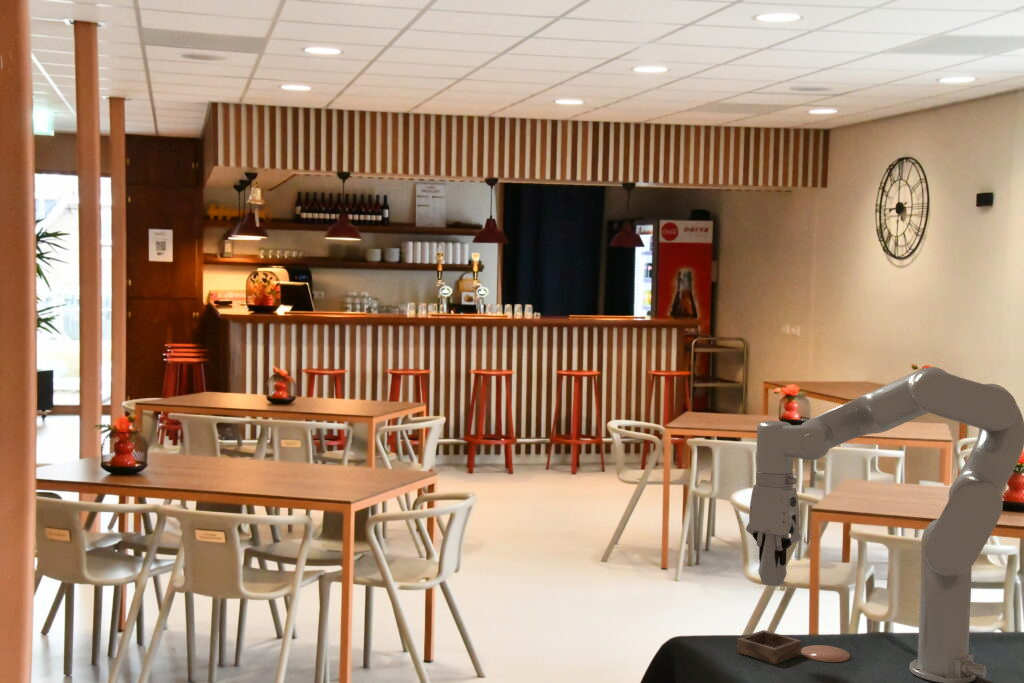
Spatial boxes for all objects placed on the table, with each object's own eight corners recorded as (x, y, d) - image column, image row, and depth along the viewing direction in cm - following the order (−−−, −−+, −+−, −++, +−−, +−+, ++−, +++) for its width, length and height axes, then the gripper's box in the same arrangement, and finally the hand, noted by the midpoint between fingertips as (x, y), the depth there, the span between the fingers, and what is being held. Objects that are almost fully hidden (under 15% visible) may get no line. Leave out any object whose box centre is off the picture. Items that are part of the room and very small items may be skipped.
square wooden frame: (801, 654, 241) (801, 640, 241) (774, 664, 235) (774, 649, 234) (763, 643, 248) (763, 630, 248) (736, 652, 242) (736, 638, 242)
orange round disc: (859, 655, 241) (859, 653, 241) (833, 665, 234) (833, 663, 234) (818, 644, 248) (818, 642, 248) (791, 653, 242) (791, 651, 242)
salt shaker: (763, 578, 244) (764, 518, 244) (789, 582, 242) (790, 521, 241) (754, 584, 239) (755, 523, 239) (781, 588, 236) (782, 526, 236)
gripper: (818, 483, 236) (815, 571, 237) (752, 473, 248) (751, 556, 249) (797, 487, 231) (795, 577, 232) (731, 477, 243) (730, 562, 244)
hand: (772, 565), depth 240 cm, fingers closed on salt shaker, 3 cm apart
